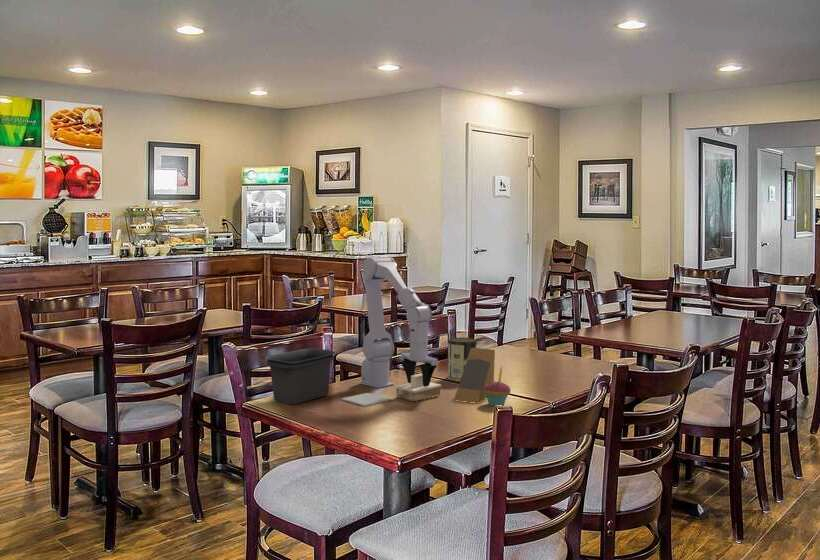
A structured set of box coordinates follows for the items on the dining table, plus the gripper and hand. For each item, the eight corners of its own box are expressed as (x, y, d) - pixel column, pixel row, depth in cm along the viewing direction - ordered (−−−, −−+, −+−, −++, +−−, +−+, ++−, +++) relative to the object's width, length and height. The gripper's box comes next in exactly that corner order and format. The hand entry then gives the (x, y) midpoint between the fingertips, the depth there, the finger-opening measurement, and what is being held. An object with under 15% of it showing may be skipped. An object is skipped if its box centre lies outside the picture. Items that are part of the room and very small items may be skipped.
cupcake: (494, 400, 236) (495, 362, 235) (516, 405, 230) (516, 366, 229) (477, 404, 230) (477, 366, 229) (498, 409, 224) (499, 370, 223)
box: (396, 397, 238) (396, 388, 238) (422, 391, 247) (422, 382, 247) (414, 401, 233) (414, 392, 233) (440, 395, 241) (440, 386, 241)
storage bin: (290, 408, 224) (290, 361, 222) (256, 400, 233) (256, 355, 232) (339, 395, 240) (339, 352, 239) (306, 388, 250) (306, 346, 249)
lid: (395, 390, 238) (395, 375, 238) (422, 384, 247) (422, 370, 247) (414, 395, 232) (414, 380, 232) (441, 388, 241) (441, 374, 241)
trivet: (341, 400, 234) (341, 398, 234) (367, 394, 242) (367, 392, 242) (364, 406, 227) (364, 404, 227) (390, 400, 235) (390, 398, 235)
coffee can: (474, 375, 273) (475, 337, 272) (477, 381, 262) (477, 342, 261) (446, 375, 273) (447, 337, 272) (447, 381, 263) (448, 341, 261)
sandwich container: (452, 401, 235) (452, 354, 233) (469, 391, 248) (470, 347, 247) (477, 404, 231) (478, 357, 230) (494, 394, 245) (495, 349, 243)
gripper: (394, 341, 241) (393, 382, 242) (426, 347, 231) (426, 390, 232) (409, 338, 246) (409, 379, 247) (442, 344, 236) (441, 386, 237)
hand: (418, 384), depth 240 cm, fingers open, 6 cm apart
